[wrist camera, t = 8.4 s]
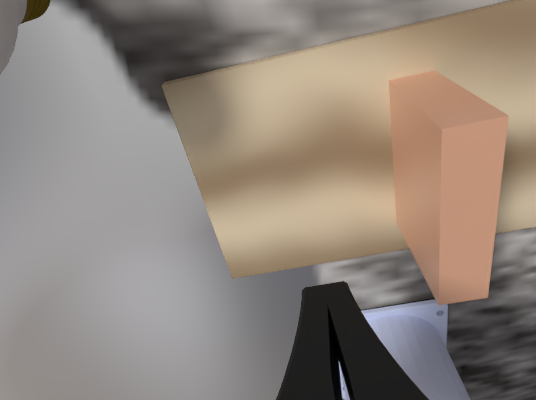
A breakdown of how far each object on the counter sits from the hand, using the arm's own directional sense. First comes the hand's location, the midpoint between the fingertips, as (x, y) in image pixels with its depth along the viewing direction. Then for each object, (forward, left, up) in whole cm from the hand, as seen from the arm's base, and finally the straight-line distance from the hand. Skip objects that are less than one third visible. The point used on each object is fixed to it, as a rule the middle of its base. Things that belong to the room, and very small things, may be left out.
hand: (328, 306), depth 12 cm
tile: (0, -6, -9) cm, 10 cm away
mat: (0, -4, -9) cm, 10 cm away
